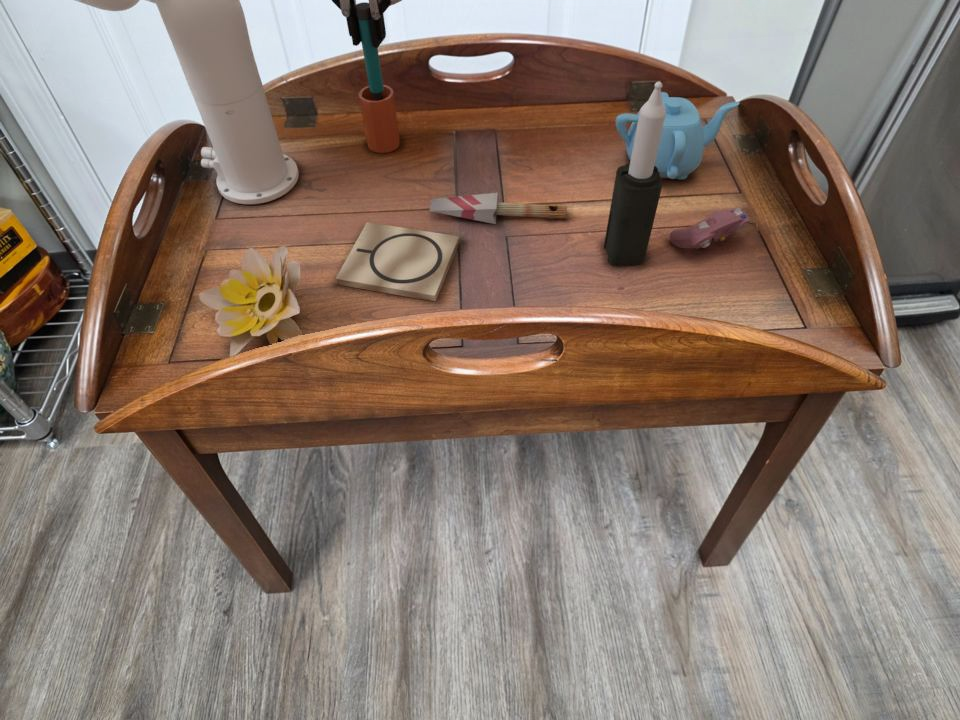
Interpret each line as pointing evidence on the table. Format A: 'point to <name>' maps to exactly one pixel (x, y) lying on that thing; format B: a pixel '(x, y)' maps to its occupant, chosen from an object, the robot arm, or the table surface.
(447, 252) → the sketch board
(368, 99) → the pen cup
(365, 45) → the marker
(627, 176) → the candle
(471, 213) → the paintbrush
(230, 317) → the decorative flower
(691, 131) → the teapot
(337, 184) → the table surface
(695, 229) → the purple toy car
